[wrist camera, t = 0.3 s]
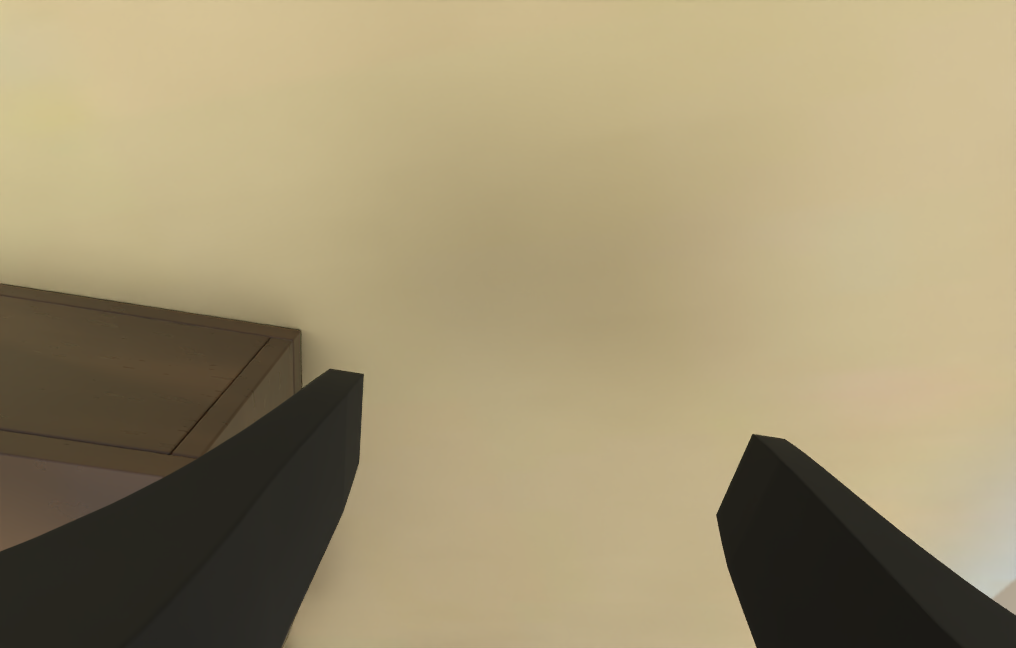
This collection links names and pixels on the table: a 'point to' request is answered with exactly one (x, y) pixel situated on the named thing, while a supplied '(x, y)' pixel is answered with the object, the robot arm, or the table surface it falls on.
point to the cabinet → (120, 399)
